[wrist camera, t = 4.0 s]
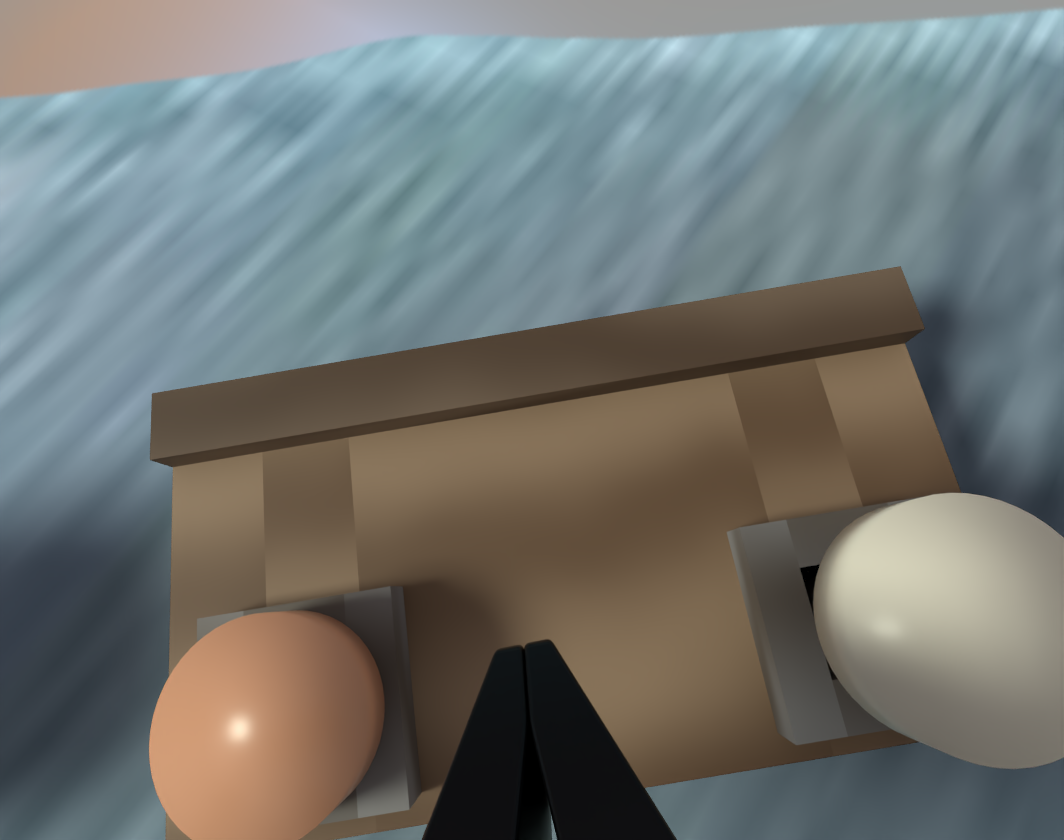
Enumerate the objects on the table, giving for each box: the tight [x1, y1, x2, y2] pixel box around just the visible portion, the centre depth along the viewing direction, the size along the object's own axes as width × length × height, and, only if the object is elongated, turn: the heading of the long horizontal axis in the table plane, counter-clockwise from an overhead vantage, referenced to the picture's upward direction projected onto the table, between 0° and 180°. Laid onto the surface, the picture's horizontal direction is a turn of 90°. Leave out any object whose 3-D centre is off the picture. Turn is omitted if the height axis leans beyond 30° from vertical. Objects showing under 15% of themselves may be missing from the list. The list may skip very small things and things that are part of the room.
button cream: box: [804, 493, 1064, 769], centre depth 13 cm, size 5×5×6 cm
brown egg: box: [149, 610, 385, 840], centre depth 15 cm, size 5×5×6 cm
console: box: [150, 266, 961, 840], centre depth 17 cm, size 12×22×5 cm, turn 99°
